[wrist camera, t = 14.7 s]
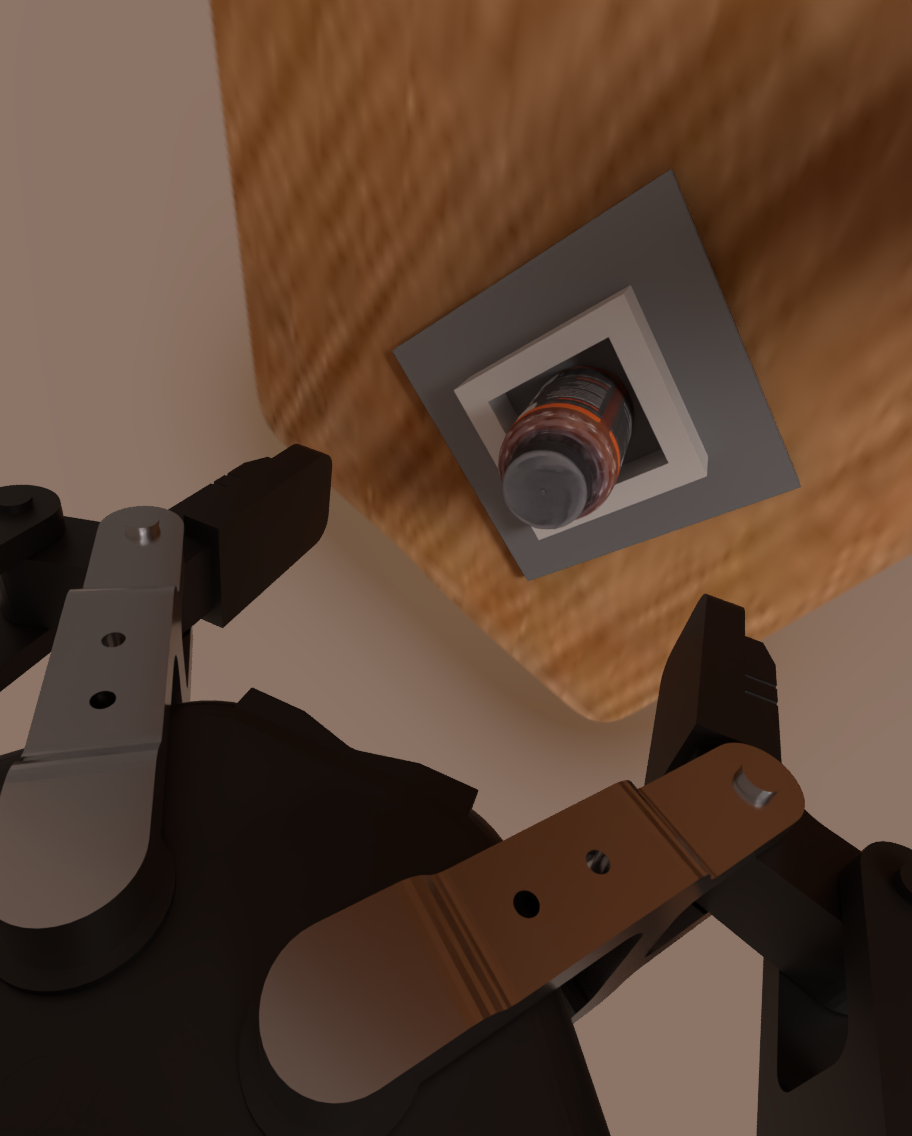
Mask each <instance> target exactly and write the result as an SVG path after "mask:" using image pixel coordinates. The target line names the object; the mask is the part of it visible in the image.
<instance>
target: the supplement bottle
mask: <svg viewBox="0 0 912 1136" xmlns="http://www.w3.org/2000/svg"><path fill="white" fill-rule="evenodd" d="M633 426H634V405H633V401H632V398H631V396H630V394H629V392H628V390H627V389H626V387H625V386H624V384H623V383H622V382H621V381H620V380H619V379H618V378H617V377H616V376H614V375H613V374H611V373H610V372H608V371H606V370H603V369H600V368H597V367H592V366H576V367H572V368H568V369H566V370H563V371H561V372H559V373H557V374H556V375H555V376H553V377H552V378H551V379H550V380H549V381H548V382H546V383H545V385H544V386H543V387H542V388H541V389H540V391H539V392H538V393H537V394H536V396H535V397H534V398H533V400H532V401H531V402H530V403H529V405H528V406H527V407H526V409H525V410H524V411H523V412H522V413H521V415H520V416H519V418H518V419H517V420H516V422H515V423H514V424H513V425H512V427H511V428H510V429H509V431H508V433H507V434H506V436H505V438H504V441H503V443H502V445H501V448H500V452H499V460H498V469H499V474H500V478H501V481H502V493H503V498H504V500H505V503H506V505H507V507H508V509H509V510H510V511H511V513H512V514H513V515H514V516H515V517H516V518H518V519H519V520H520V521H521V522H523V523H525V524H527V525H528V526H531V527H534V528H538V529H557V528H561V527H564V526H566V525H568V524H570V523H571V522H573V521H574V520H578V519H580V518H583V517H585V516H587V515H589V514H590V513H592V512H594V511H595V510H596V509H598V508H599V507H600V506H601V505H602V504H603V503H604V502H605V501H606V499H607V498H608V496H609V495H610V493H611V491H612V490H613V488H614V485H615V483H616V480H617V477H618V474H619V472H620V468H621V465H622V462H623V459H624V456H625V453H626V449H627V446H628V443H629V440H630V437H631V434H632V430H633Z"/></svg>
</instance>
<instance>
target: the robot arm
mask: <svg viewBox="0 0 912 1136" xmlns="http://www.w3.org/2000/svg"><path fill="white" fill-rule="evenodd" d="M331 476H332V460H331V457H330V456H329V455H327V454H324V453H322V452H319V451H316V450H313V449H311V448H308V447H305V446H302V445H300V444H294V445H292V446H290V447H289V448H287V449H286V450H284V451H282V452H281V453H279V454H278V455H276V456H275V457H273V458H269V457H265V458H261V459H258V460H254V461H250V462H246V463H243V464H242V465H240V466H239V467H237V468H235V469H234V470H232V471H231V472H229V473H228V475H227V476H225V475H224V476H222V477H221V478H219V479H217V480H216V481H214V484H209V485H208V486H206V487H204V488H203V489H201V490H199V491H198V492H196V493H194V494H193V495H191V496H190V497H188V498H186V499H185V500H183V501H182V502H180V503H178V504H177V505H175V506H173V507H172V508H170V509H168V510H167V509H164V508H160V507H154V506H136V507H129V508H124V509H121V510H118V511H116V512H113V513H111V514H110V515H108V516H106V517H105V518H104V519H103V520H102V521H101V522H97V521H90V520H85V519H78V518H72V517H66V516H63V511H62V507H61V502H60V499H59V497H58V496H57V494H56V493H54V492H53V491H51V490H49V489H46V488H43V487H39V486H33V485H10V486H4V487H0V692H1V691H2V690H3V689H4V688H6V687H7V686H8V685H10V684H11V683H12V682H13V681H15V680H16V679H17V678H18V677H20V676H21V675H22V674H24V673H25V672H26V671H27V670H29V669H30V668H31V667H32V666H34V665H35V664H36V663H38V662H39V661H40V660H41V659H42V658H44V657H45V656H46V655H48V654H49V653H50V652H51V654H50V658H49V662H48V665H47V669H46V672H45V676H44V680H43V683H42V687H41V691H40V694H39V698H38V701H37V705H36V709H35V713H34V716H33V720H32V723H31V727H30V731H29V734H28V738H27V742H26V745H25V748H24V749H21V750H17V751H14V752H11V753H7V754H4V755H0V1136H611V1135H610V1132H609V1130H608V1126H607V1123H606V1120H605V1118H604V1115H603V1112H602V1109H601V1106H600V1103H599V1100H598V1097H597V1094H596V1091H595V1088H594V1085H593V1082H592V1079H591V1076H590V1073H589V1070H588V1067H587V1064H586V1062H585V1059H584V1055H583V1052H582V1049H581V1046H580V1044H579V1041H578V1037H577V1034H576V1031H575V1029H574V1026H573V1023H575V1022H576V1021H577V1020H579V1019H580V1018H581V1017H583V1016H584V1015H585V1014H587V1013H588V1012H589V1011H591V1010H592V1009H593V1008H594V1007H595V1006H597V1005H598V1004H600V1003H601V1002H602V1001H603V1000H604V999H605V998H607V997H608V996H609V995H610V994H611V993H612V992H614V991H615V990H616V989H617V988H618V987H619V986H620V985H621V984H622V983H623V982H624V981H625V980H626V979H627V978H629V977H630V976H631V975H632V974H633V973H634V972H636V971H637V970H638V969H639V968H641V967H642V966H643V965H645V964H646V963H648V962H649V961H650V960H652V959H653V958H654V957H655V956H657V955H658V954H660V953H661V952H662V951H664V950H665V949H666V948H668V947H669V946H670V945H672V944H673V943H674V942H676V941H677V940H678V939H680V938H681V937H683V936H684V935H685V934H687V933H688V932H689V931H691V930H692V929H693V928H695V927H696V926H697V925H698V924H700V923H701V922H703V921H704V920H705V919H707V918H708V917H710V916H711V915H713V916H714V917H715V918H716V919H718V920H719V921H720V922H721V923H723V924H724V925H725V926H726V927H727V928H729V929H730V930H731V931H732V932H734V933H735V934H736V935H737V936H739V937H740V938H741V939H742V940H743V941H745V942H746V943H747V944H748V945H750V946H751V947H752V948H753V949H754V950H756V951H757V952H758V953H759V954H761V955H762V956H763V957H764V961H763V986H762V987H763V988H762V1012H761V1037H760V1064H759V1066H760V1067H759V1088H758V1089H759V1090H758V1113H757V1136H912V850H911V849H909V848H907V847H905V846H902V845H899V844H896V843H892V842H885V841H881V842H875V843H872V844H870V845H868V846H867V847H866V848H865V849H863V850H862V851H860V850H858V849H857V848H856V847H854V846H853V845H851V844H850V843H848V842H847V841H845V840H844V839H842V838H841V837H839V836H838V835H836V834H835V833H834V832H832V831H831V830H829V829H828V828H826V827H825V826H824V825H822V824H821V823H820V822H818V821H817V820H816V819H815V818H813V817H812V816H811V815H810V814H809V813H808V812H807V811H806V810H805V809H804V808H805V800H804V796H803V792H802V790H801V788H800V785H799V784H798V782H797V781H796V779H795V778H794V776H793V775H792V774H791V772H790V771H789V770H788V769H787V768H786V767H785V766H784V765H783V764H782V762H781V747H780V731H779V714H778V706H777V702H778V698H777V689H776V685H777V681H776V666H775V663H774V661H773V660H772V658H771V656H770V655H769V652H768V651H767V649H766V647H765V645H764V644H763V643H762V642H760V641H757V640H754V639H752V638H749V637H746V636H745V609H744V608H743V607H741V606H738V605H735V604H733V603H730V602H727V601H724V600H722V599H719V598H716V597H713V596H711V595H708V594H704V595H703V596H702V597H701V598H700V600H699V601H698V603H697V605H696V607H695V609H694V610H693V612H692V614H691V616H690V618H689V620H688V622H687V623H686V625H685V627H684V629H683V631H682V633H681V635H680V636H679V638H678V640H677V642H676V644H675V646H674V648H673V649H672V651H671V653H670V656H669V658H668V660H667V663H666V665H665V668H664V671H663V675H662V678H661V684H660V690H659V696H658V703H657V709H656V715H655V721H654V728H653V734H652V741H651V747H650V753H649V760H648V766H647V772H646V778H645V785H644V786H643V787H641V788H639V789H637V788H636V787H635V786H634V784H633V783H632V782H631V781H629V780H625V781H621V782H618V783H616V784H613V785H612V786H610V787H607V788H605V789H604V790H602V791H600V792H598V793H596V794H594V795H592V796H590V797H588V798H586V799H584V800H582V801H580V802H578V803H576V804H574V805H572V806H570V807H568V808H566V809H565V810H562V811H560V812H559V813H557V814H555V815H553V816H551V817H549V818H547V819H545V820H543V821H541V822H539V823H537V824H535V825H533V826H531V827H529V828H527V829H525V830H523V831H521V832H519V833H517V834H516V835H514V836H512V837H510V838H508V839H506V840H504V841H503V840H502V839H501V837H500V836H499V835H498V834H497V832H496V831H495V830H494V829H493V828H492V827H491V826H490V825H489V824H488V823H487V822H486V821H485V820H484V819H483V818H482V817H481V816H480V815H479V814H477V813H476V812H475V811H474V810H472V807H473V804H474V802H475V799H476V796H477V793H478V790H477V789H475V788H473V787H471V786H469V785H466V784H464V783H462V782H460V781H457V780H455V779H453V778H451V777H449V776H447V775H444V774H442V773H440V772H437V771H435V770H433V769H431V768H429V767H427V766H424V765H422V764H420V763H415V762H411V761H406V760H401V759H396V758H392V757H386V756H382V755H377V754H372V753H367V752H362V751H358V750H355V749H353V748H351V747H349V746H348V745H346V744H345V743H344V742H343V741H341V740H340V739H339V738H338V737H336V736H335V735H334V734H333V733H331V732H330V731H329V730H327V729H326V728H325V727H324V726H323V725H321V724H320V723H319V722H318V721H316V720H315V719H314V718H313V717H311V716H310V715H309V714H307V713H306V712H305V711H303V710H301V709H299V708H296V707H294V706H292V705H290V704H288V703H285V702H283V701H281V700H279V699H276V698H274V697H272V696H270V695H268V694H266V693H263V692H261V691H259V690H257V689H255V688H251V689H250V690H249V691H248V692H247V693H246V694H245V695H244V696H243V697H242V698H241V700H240V701H239V702H238V703H235V702H226V701H193V702H190V690H191V669H192V647H193V631H192V626H193V625H194V624H195V623H197V622H198V621H199V620H200V619H203V620H205V621H208V622H210V623H212V624H214V625H217V626H219V627H221V628H223V627H225V626H226V625H227V624H228V623H229V622H230V621H231V620H232V619H233V618H234V617H236V616H237V615H238V614H239V613H240V612H241V611H242V610H243V609H244V608H245V607H247V606H248V605H249V604H250V603H251V602H252V601H253V600H254V599H256V598H257V597H258V596H259V595H260V594H261V593H262V592H263V591H264V590H265V589H266V588H268V587H269V586H270V585H271V584H272V583H273V582H274V581H275V580H276V579H278V578H279V577H280V576H281V575H282V574H283V573H284V572H285V571H287V570H288V569H289V568H290V567H291V566H292V565H293V564H294V563H295V562H296V561H298V560H299V559H300V558H301V557H302V556H303V555H304V554H305V553H306V552H307V551H309V550H310V549H311V548H312V547H313V546H314V545H315V544H316V543H317V542H318V541H319V540H320V538H321V536H322V534H323V533H324V530H325V528H326V525H327V521H328V514H329V500H330V489H331Z"/></svg>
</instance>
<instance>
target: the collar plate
mask: <svg viewBox="0 0 912 1136" xmlns="http://www.w3.org/2000/svg"><path fill="white" fill-rule="evenodd" d="M392 351H393V353H394V355H395V357H396V358H397V360H398V362H399V363H400V365H401V367H402V368H403V370H404V372H405V374H406V375H407V377H408V379H409V380H410V382H411V384H412V385H413V387H414V389H415V391H416V392H417V394H418V396H419V397H420V399H421V401H422V402H423V404H424V406H425V408H426V409H427V411H428V413H429V414H430V416H431V418H432V419H433V421H434V423H435V425H436V426H437V428H438V430H439V431H440V433H441V435H442V436H443V438H444V440H445V442H446V443H447V445H448V447H449V448H450V450H451V452H452V453H453V455H454V457H455V459H456V460H457V462H458V464H459V465H460V467H461V469H462V470H463V472H464V474H465V476H466V477H467V479H468V481H469V482H470V484H471V486H472V487H473V489H474V491H475V493H476V494H477V496H478V498H479V499H480V501H481V503H482V504H483V506H484V508H485V509H486V511H487V513H488V515H489V516H490V518H491V520H492V521H493V523H494V525H495V526H496V528H497V530H498V532H499V533H500V535H501V537H502V538H503V540H504V542H505V543H506V545H507V547H508V549H509V550H510V552H511V554H512V555H513V557H514V559H515V560H516V562H517V564H518V566H519V567H520V569H521V571H522V572H523V574H524V576H525V577H526V579H527V581H530V580H533V579H536V578H539V577H542V576H544V575H547V574H550V573H553V572H556V571H559V570H562V569H565V568H568V567H571V566H573V565H576V564H579V563H582V562H585V561H588V560H591V559H594V558H597V557H599V556H602V555H605V554H608V553H611V552H614V551H617V550H620V549H623V548H626V547H628V546H631V545H634V544H637V543H640V542H643V541H646V540H649V539H652V538H655V537H657V536H660V535H663V534H666V533H669V532H672V531H675V530H678V529H681V528H684V527H686V526H689V525H692V524H695V523H698V522H701V521H704V520H707V519H710V518H712V517H715V516H718V515H721V514H724V513H727V512H730V511H733V510H736V509H739V508H741V507H744V506H747V505H750V504H753V503H756V502H759V501H762V500H765V499H768V498H770V497H773V496H776V495H779V494H782V493H785V492H788V491H791V490H794V489H797V488H799V487H801V486H800V482H799V479H798V477H797V474H796V472H795V469H794V467H793V464H792V462H791V459H790V457H789V455H788V452H787V450H786V447H785V445H784V442H783V440H782V437H781V435H780V432H779V430H778V428H777V425H776V423H775V420H774V418H773V415H772V413H771V410H770V408H769V406H768V403H767V401H766V398H765V396H764V393H763V391H762V388H761V386H760V383H759V381H758V379H757V376H756V374H755V371H754V369H753V366H752V364H751V361H750V359H749V357H748V354H747V352H746V349H745V347H744V344H743V342H742V339H741V337H740V334H739V332H738V330H737V327H736V325H735V322H734V320H733V317H732V315H731V312H730V310H729V308H728V305H727V303H726V300H725V298H724V295H723V293H722V290H721V288H720V286H719V283H718V281H717V278H716V276H715V273H714V271H713V268H712V266H711V263H710V261H709V259H708V256H707V254H706V251H705V249H704V246H703V244H702V241H701V239H700V237H699V234H698V232H697V229H696V227H695V224H694V222H693V219H692V217H691V214H690V212H689V210H688V207H687V205H686V202H685V200H684V197H683V195H682V192H681V190H680V188H679V185H678V183H677V180H676V178H675V175H674V173H673V170H672V169H670V170H669V171H667V172H665V173H664V174H662V175H661V176H659V177H658V178H656V179H655V180H653V181H652V182H650V183H649V184H647V185H646V186H644V187H642V188H641V189H639V190H638V191H636V192H635V193H633V194H632V195H630V196H629V197H627V198H626V199H624V200H623V201H621V202H619V203H618V204H616V205H615V206H613V207H612V208H610V209H609V210H607V211H606V212H604V213H603V214H601V215H600V216H598V217H596V218H595V219H593V220H592V221H590V222H589V223H587V224H586V225H584V226H583V227H581V228H580V229H578V230H576V231H575V232H573V233H572V234H570V235H569V236H567V237H566V238H564V239H563V240H561V241H560V242H558V243H557V244H555V245H553V246H552V247H550V248H549V249H547V250H546V251H544V252H543V253H541V254H540V255H538V256H537V257H535V258H534V259H532V260H530V261H529V262H527V263H526V264H524V265H523V266H521V267H520V268H518V269H517V270H515V271H514V272H512V273H510V274H509V275H507V276H506V277H504V278H503V279H501V280H500V281H498V282H497V283H495V284H494V285H492V286H491V287H489V288H487V289H486V290H484V291H483V292H481V293H480V294H478V295H477V296H475V297H474V298H472V299H471V300H469V301H468V302H466V303H464V304H463V305H461V306H460V307H458V308H457V309H455V310H454V311H452V312H451V313H449V314H448V315H446V316H445V317H443V318H441V319H440V320H438V321H437V322H435V323H434V324H432V325H431V326H429V327H428V328H426V329H425V330H423V331H421V332H420V333H418V334H417V335H415V336H414V337H412V338H411V339H409V340H408V341H406V342H405V343H403V344H402V345H400V346H398V347H397V348H395V349H394V350H392ZM576 366H592V367H597V368H600V369H603V370H606V371H608V372H610V373H611V374H613V375H614V376H616V377H617V378H618V379H619V380H620V381H621V382H622V383H623V384H624V386H625V387H626V389H627V390H628V392H629V394H630V396H631V398H632V401H633V405H634V426H633V430H632V434H631V437H630V440H629V443H628V446H627V449H626V453H625V456H624V459H623V462H622V465H621V468H620V472H619V474H618V477H617V480H616V483H615V485H614V488H613V490H612V491H611V493H610V495H609V496H608V498H607V499H606V501H605V502H604V503H603V504H602V505H601V506H600V507H599V508H598V509H596V510H595V511H594V512H592V513H590V514H589V515H587V516H585V517H583V518H580V519H578V520H574V521H573V522H571V523H570V524H568V525H566V526H564V527H561V528H557V529H538V528H534V527H531V526H528V525H527V524H525V523H523V522H521V521H520V520H519V519H518V518H516V517H515V516H514V515H513V514H512V513H511V511H510V510H509V509H508V507H507V505H506V503H505V500H504V498H503V493H502V481H501V478H500V474H499V469H498V460H499V452H500V448H501V445H502V443H503V441H504V438H505V436H506V434H507V433H508V431H509V429H510V428H511V427H512V425H513V424H514V423H515V422H516V420H517V419H518V418H519V416H520V415H521V413H522V412H523V411H524V410H525V409H526V407H527V406H528V405H529V403H530V402H531V401H532V400H533V398H534V397H535V396H536V394H537V393H538V392H539V391H540V389H541V388H542V387H543V386H544V385H545V383H546V382H548V381H549V380H550V379H551V378H552V377H553V376H555V375H556V374H557V373H559V372H561V371H563V370H566V369H568V368H572V367H576Z"/></svg>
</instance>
